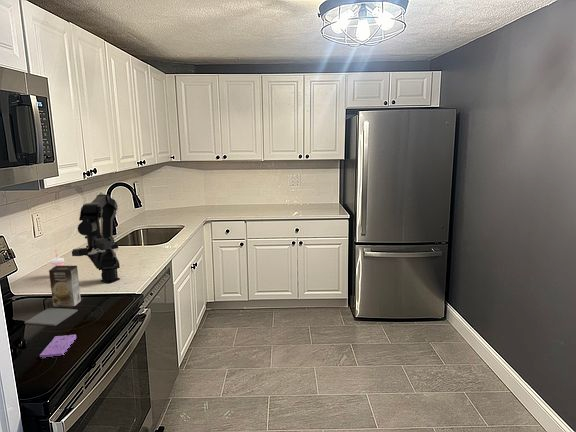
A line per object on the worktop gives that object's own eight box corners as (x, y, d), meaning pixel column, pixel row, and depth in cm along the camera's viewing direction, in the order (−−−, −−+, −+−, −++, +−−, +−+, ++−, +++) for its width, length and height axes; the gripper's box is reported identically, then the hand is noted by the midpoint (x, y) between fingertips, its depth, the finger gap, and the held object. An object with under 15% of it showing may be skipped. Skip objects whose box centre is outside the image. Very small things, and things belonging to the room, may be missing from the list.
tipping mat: (48, 309, 170) (48, 307, 170) (77, 310, 168) (77, 309, 168) (24, 323, 158) (24, 322, 158) (55, 325, 156) (55, 324, 156)
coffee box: (52, 307, 172) (47, 270, 169) (60, 300, 178) (55, 265, 175) (74, 306, 172) (70, 270, 169) (81, 300, 179) (77, 264, 175)
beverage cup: (56, 274, 211) (52, 248, 208) (68, 274, 211) (65, 247, 208) (50, 278, 205) (46, 251, 202) (63, 278, 205) (59, 251, 202)
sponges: (76, 339, 147) (76, 334, 146) (63, 358, 135) (62, 352, 134) (55, 340, 146) (55, 335, 145) (40, 360, 134) (39, 354, 133)
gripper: (85, 235, 166) (90, 274, 168) (124, 229, 182) (128, 264, 184) (68, 236, 172) (73, 273, 173) (107, 230, 188) (112, 263, 189)
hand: (98, 268), depth 180 cm, fingers closed
